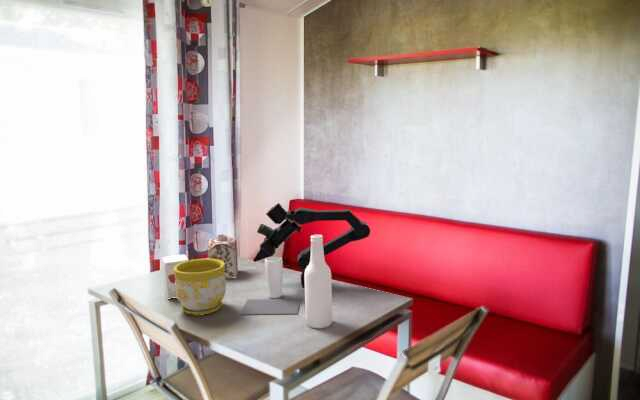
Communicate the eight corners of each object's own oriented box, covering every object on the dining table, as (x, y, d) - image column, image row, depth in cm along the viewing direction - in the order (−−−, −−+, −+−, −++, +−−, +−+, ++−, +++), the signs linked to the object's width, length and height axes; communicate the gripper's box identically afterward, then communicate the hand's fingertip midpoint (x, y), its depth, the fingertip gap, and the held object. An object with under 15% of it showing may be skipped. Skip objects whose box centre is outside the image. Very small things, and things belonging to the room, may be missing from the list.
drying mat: (300, 299, 185) (300, 298, 185) (297, 314, 171) (297, 313, 171) (247, 300, 186) (247, 299, 186) (240, 314, 172) (240, 313, 172)
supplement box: (167, 300, 188) (164, 262, 186) (164, 293, 196) (161, 256, 194) (191, 296, 192) (188, 259, 189) (187, 289, 200) (185, 253, 198)
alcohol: (335, 327, 160) (333, 237, 155) (309, 331, 158) (307, 240, 153) (327, 316, 169) (325, 231, 164) (302, 320, 166) (300, 234, 161)
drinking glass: (286, 294, 192) (285, 256, 189) (279, 300, 185) (278, 261, 183) (270, 292, 194) (269, 255, 191) (263, 298, 188) (261, 260, 185)
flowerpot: (166, 315, 174) (162, 270, 171) (195, 297, 190) (192, 256, 188) (210, 321, 167) (207, 275, 165) (236, 302, 184) (234, 260, 181)
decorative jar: (212, 271, 223) (209, 233, 220) (238, 270, 224) (236, 231, 221) (209, 280, 211) (206, 239, 208) (236, 278, 212) (234, 238, 209)
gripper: (272, 214, 206) (245, 239, 207) (266, 221, 187) (237, 248, 188) (290, 233, 206) (263, 258, 208) (286, 242, 188) (257, 269, 189)
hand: (255, 258), depth 198 cm, fingers open, 9 cm apart
